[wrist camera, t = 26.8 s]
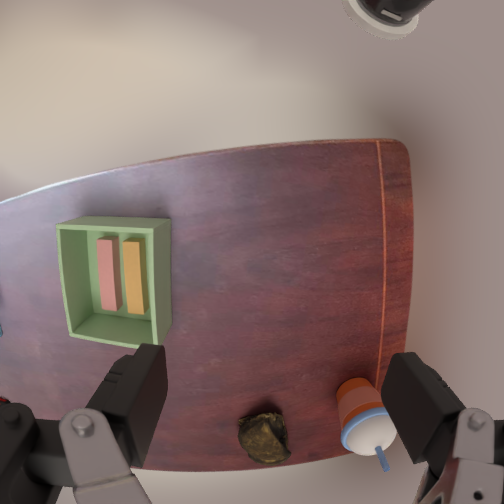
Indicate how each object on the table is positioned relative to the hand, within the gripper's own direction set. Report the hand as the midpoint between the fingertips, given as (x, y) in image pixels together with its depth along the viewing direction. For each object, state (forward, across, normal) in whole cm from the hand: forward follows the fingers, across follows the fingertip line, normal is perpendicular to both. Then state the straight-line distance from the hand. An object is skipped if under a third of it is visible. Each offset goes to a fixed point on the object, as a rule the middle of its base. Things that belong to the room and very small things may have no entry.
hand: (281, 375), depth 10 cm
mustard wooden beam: (+30, +16, +7) cm, 34 cm away
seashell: (+30, -4, +36) cm, 47 cm away
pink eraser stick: (+30, +20, +7) cm, 36 cm away
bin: (+30, +18, +7) cm, 36 cm away
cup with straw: (+30, -18, +26) cm, 44 cm away
